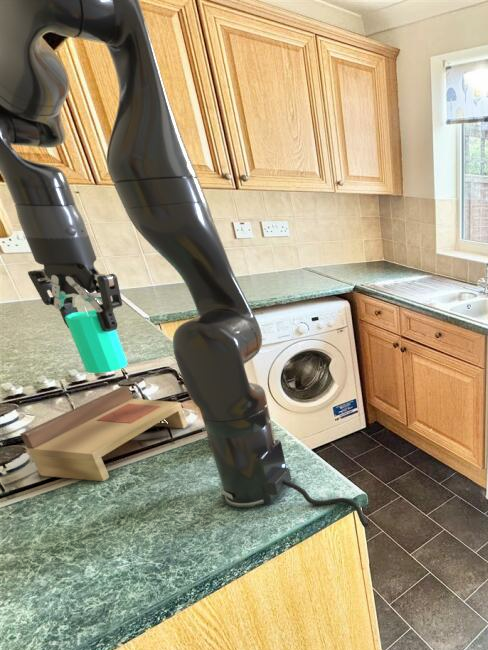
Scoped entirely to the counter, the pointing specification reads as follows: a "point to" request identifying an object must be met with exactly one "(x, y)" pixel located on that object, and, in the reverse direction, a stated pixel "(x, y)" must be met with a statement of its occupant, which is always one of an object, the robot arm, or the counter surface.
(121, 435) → the shelf
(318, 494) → the counter surface
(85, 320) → the candle
